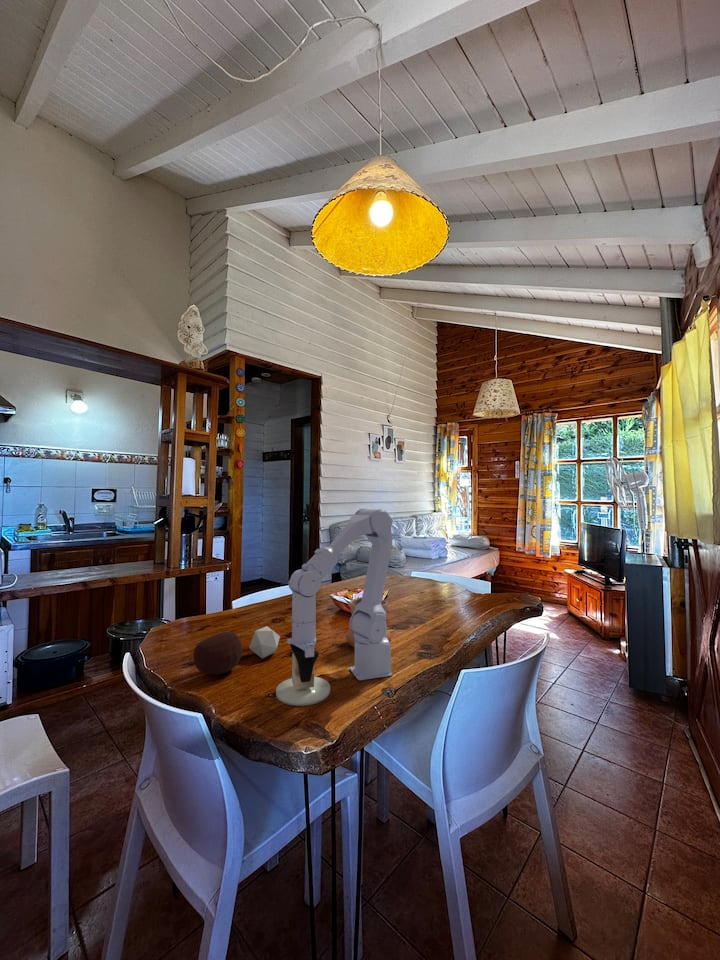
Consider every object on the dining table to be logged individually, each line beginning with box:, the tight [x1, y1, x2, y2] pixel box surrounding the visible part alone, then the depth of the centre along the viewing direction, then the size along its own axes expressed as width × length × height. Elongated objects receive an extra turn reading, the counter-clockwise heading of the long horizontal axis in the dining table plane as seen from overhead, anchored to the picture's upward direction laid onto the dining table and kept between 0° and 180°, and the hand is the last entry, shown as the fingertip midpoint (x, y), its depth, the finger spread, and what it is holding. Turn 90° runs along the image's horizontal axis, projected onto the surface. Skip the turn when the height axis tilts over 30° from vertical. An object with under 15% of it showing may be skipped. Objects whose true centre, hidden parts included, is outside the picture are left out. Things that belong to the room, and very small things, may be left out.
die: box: [248, 626, 281, 660], centre depth 120 cm, size 8×9×10 cm
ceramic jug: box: [345, 596, 392, 649], centre depth 128 cm, size 18×14×14 cm
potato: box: [192, 631, 243, 676], centre depth 108 cm, size 11×13×10 cm
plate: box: [275, 676, 331, 707], centre depth 97 cm, size 13×13×1 cm
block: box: [291, 651, 315, 690], centre depth 97 cm, size 4×4×7 cm
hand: (303, 676), depth 97 cm, fingers closed on block, 4 cm apart
